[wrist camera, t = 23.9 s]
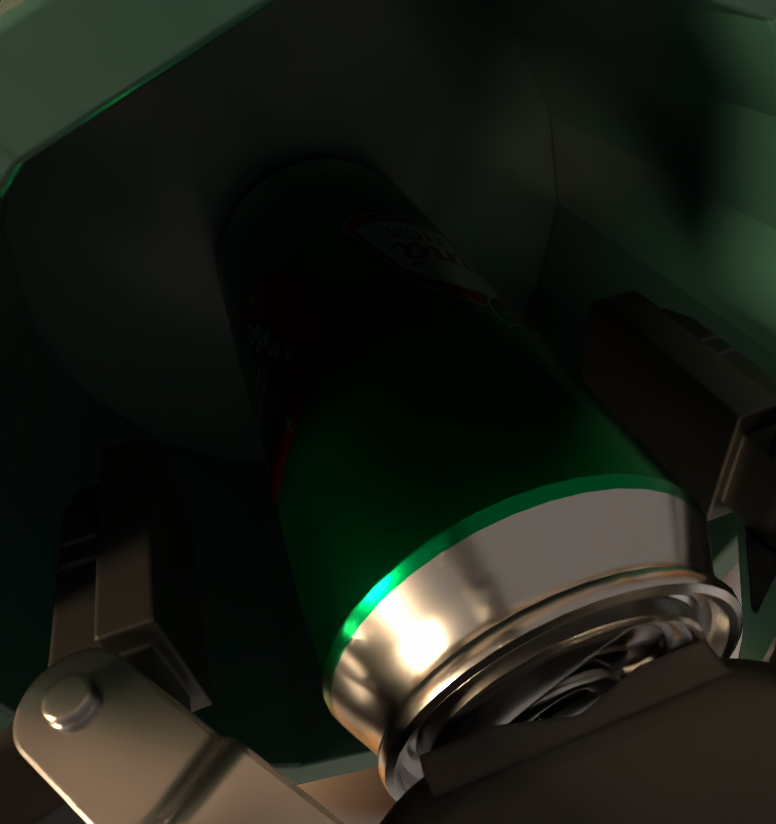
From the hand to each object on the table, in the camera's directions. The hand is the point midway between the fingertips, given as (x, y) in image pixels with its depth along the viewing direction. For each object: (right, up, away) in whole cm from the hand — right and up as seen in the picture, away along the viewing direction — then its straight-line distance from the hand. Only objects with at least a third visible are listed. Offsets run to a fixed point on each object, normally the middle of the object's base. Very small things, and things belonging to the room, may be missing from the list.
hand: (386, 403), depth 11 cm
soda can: (-2, +4, +5) cm, 6 cm away
